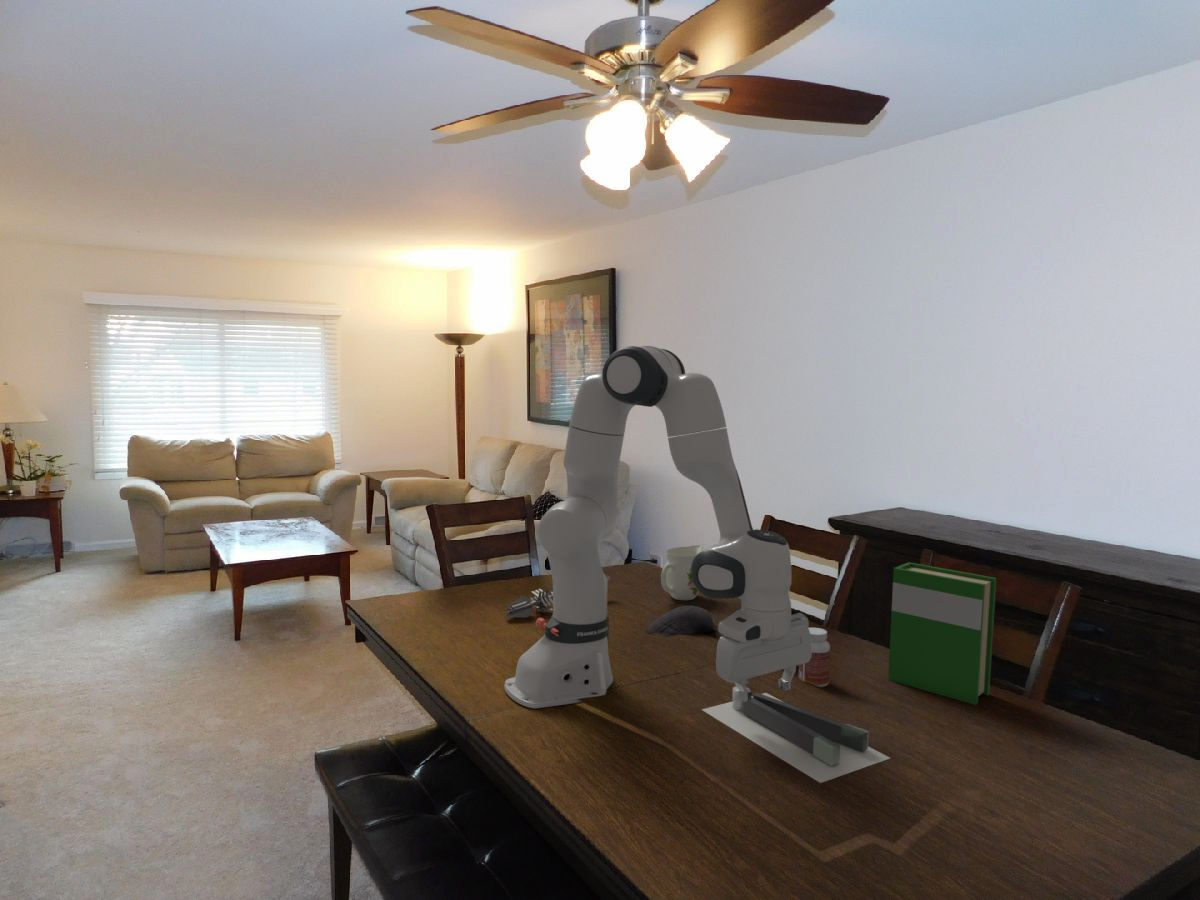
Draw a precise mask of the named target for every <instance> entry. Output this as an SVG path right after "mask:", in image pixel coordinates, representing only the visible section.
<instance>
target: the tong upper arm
mask: <svg viewBox="0 0 1200 900" xmlns="http://www.w3.org/2000/svg"><path fill="white" fill-rule="evenodd" d="M762 694H763V693H759V692H756V693H753V694H752V696H753V698H754V699H756V700H757V701H759V702H761V703H763V704H765V705H767V706H768V707H770V708H772V709H774V710H776V711H778V712H779V713H781V714H783V715H785V716H787V717H789V718H790V719H792V720H794V721H796V722H798V723H800V724H802V725H803V726H805V727H807V728H809V729H811V730H813V731H814V732H816V733H818V734H820V735H822V736H824V737H825V738H827V739H830V740H832V741H835V742H838V743H840V744H843V745H845V746H848V747H851V748H853V749H856V750H859V751H861V752H864V751H865V750H867V749H868V747H869V736H870V734H869V733H870V731H868V730H865V729H863V728H860V727H859V726H858V727H857V726H854V725H852V724H848V723H843V722H840V721H837V720H834V719H831V718H829V717H826V716H823V715H820V714H818V713H815V712H813V711H810V710H806V709H804V708H801V707H799V706H796V705H793V704H790V703H789V702H788V703H787V702H785V701H783V700H781V701H779V700H780V699H779V700H776V699H774V698H771V697H768V696H765V695H762ZM782 701H783V702H782Z"/></svg>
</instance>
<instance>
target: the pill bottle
mask: <svg viewBox="0 0 1200 900" xmlns="http://www.w3.org/2000/svg"><path fill="white" fill-rule="evenodd" d="M808 629H809V631H810V637H811V646H812V657H811V659H810V661H809V662H808V663H804V664H801V665H798V679H799V680H801V681H802V682H804V683H806V684H809V685H812V686H815V687H818V688H824V687H827V686H828V685H829V684H830V667H831V665H830V664H831V661H830V660H831V659H830V658H831V644H830V643H829V642H828V641H827V638H828V631H827V630H826V629H825V628H819V627H808Z"/></svg>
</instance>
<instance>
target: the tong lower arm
mask: <svg viewBox="0 0 1200 900" xmlns="http://www.w3.org/2000/svg"><path fill="white" fill-rule="evenodd" d="M746 688H747V689H748V690H750V691H751V689H750V688H748V687H747V686H746ZM731 699H732V701H731V702H732V708H733V709H734V710H736V711H741V712H743V713H744V714H745V715H747V716H749V717H750V718H752V719H754V720H756V721H757V722H759V723H761V724H763V725H764V726H766V727H768V728H769V729H771V730H773V731H775V732H776V733H778V734H780V735H782V736H783V737H785V738H787V739H788V740H790V741H792V742H794V743H795V744H797V745H799V746H801V747H802V748H804V749H806V750H807V751H809V752H811V753H813V756H815V757H817V758H819V759H820V760H822V761H824V762H825V763H827V764H829V765H831V766H833V765H836V764H839V761H840V745H838V744H836V743H835V742H833V741H831V740H829V739H827V738H825V737H824V736H822V735H820V734H818V733H816V732H814V731H813V730H811V729H809V728H807V727H805V726H803V725H802V724H800V723H798V722H796V721H794V720H792V719H790V718H789V717H787V716H785V715H783V714H781V713H779V712H778V711H776V710H774V709H772V708H770V707H768V706H767V705H765V704H763V703H761V702H759V701H757V700H756V699H754V698H752V700H750V701H747V702H743V701H741V700H740V699H739V690H738V688H737V686H736V685H735V686H733V687H732V698H731Z"/></svg>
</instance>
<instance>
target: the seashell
mask: <svg viewBox="0 0 1200 900" xmlns="http://www.w3.org/2000/svg"><path fill="white" fill-rule="evenodd" d="M717 630H718V627H717V625H716V624H715V623H714V620H713V618H712V615H711V614H710V612H709V611H708V610H707V609H705V608H703V607H699V606H695V605H682V606H678V607H675V608H673V609H672V610H670V611H668V612H665V613H664V614H662V615H661V616H659V618H656V619H655V620H653V622H651V624H650V625H649V626H648V627H647V628H646V629H645V632H646V633H647V634H648V635H650V636H651V635H653V634H657V635H661V636H664V637H674V636H678V635H693V634H698V633H702V634H704V635H707V634H710V633H713V632H716V631H717Z"/></svg>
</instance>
